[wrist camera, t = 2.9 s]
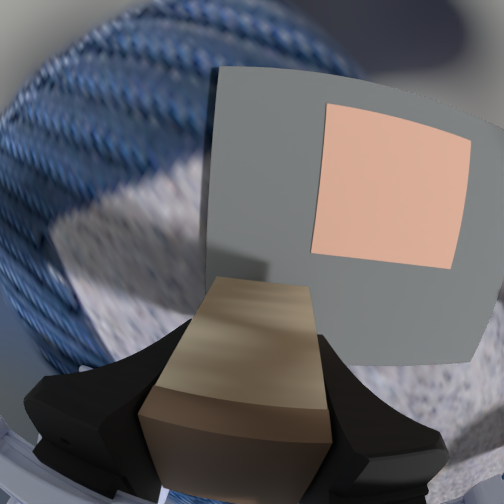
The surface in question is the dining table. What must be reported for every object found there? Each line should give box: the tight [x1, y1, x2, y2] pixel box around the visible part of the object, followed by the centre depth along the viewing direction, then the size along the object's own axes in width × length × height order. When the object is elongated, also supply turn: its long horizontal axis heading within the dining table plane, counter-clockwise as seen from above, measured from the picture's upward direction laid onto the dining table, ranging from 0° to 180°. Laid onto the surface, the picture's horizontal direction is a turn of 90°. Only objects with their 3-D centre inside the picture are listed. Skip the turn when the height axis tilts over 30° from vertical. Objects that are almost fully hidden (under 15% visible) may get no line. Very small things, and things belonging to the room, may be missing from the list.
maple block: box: [138, 276, 332, 504], centre depth 9 cm, size 4×4×8 cm
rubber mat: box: [205, 66, 504, 366], centre depth 13 cm, size 18×15×1 cm
